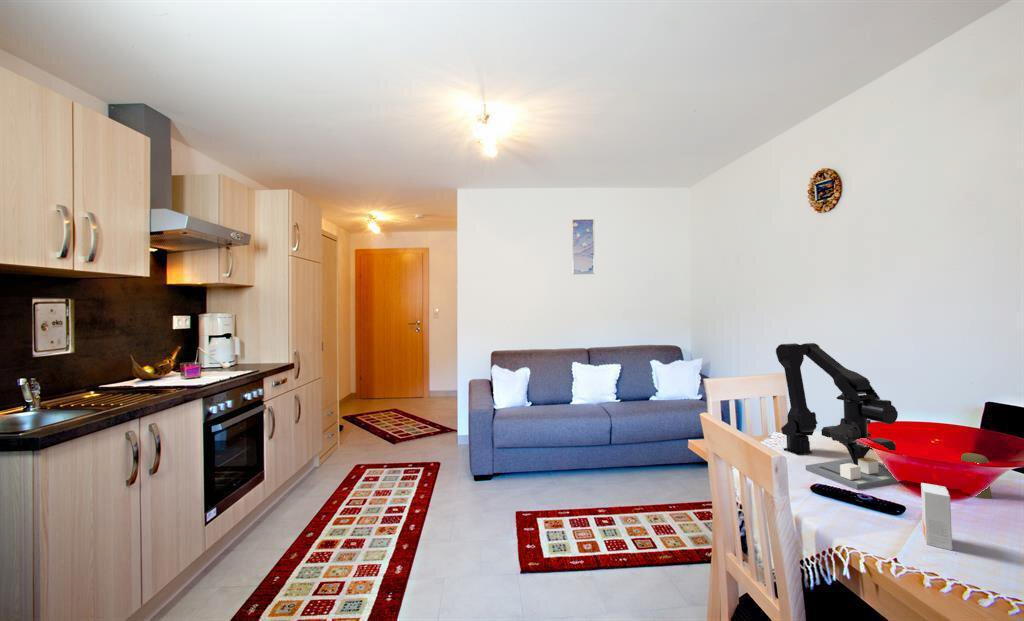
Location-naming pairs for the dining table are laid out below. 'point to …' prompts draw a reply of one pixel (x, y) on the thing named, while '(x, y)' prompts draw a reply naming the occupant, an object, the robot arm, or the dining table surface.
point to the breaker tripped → (868, 465)
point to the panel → (866, 480)
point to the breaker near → (850, 471)
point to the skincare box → (936, 516)
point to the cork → (978, 459)
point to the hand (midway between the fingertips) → (857, 465)
